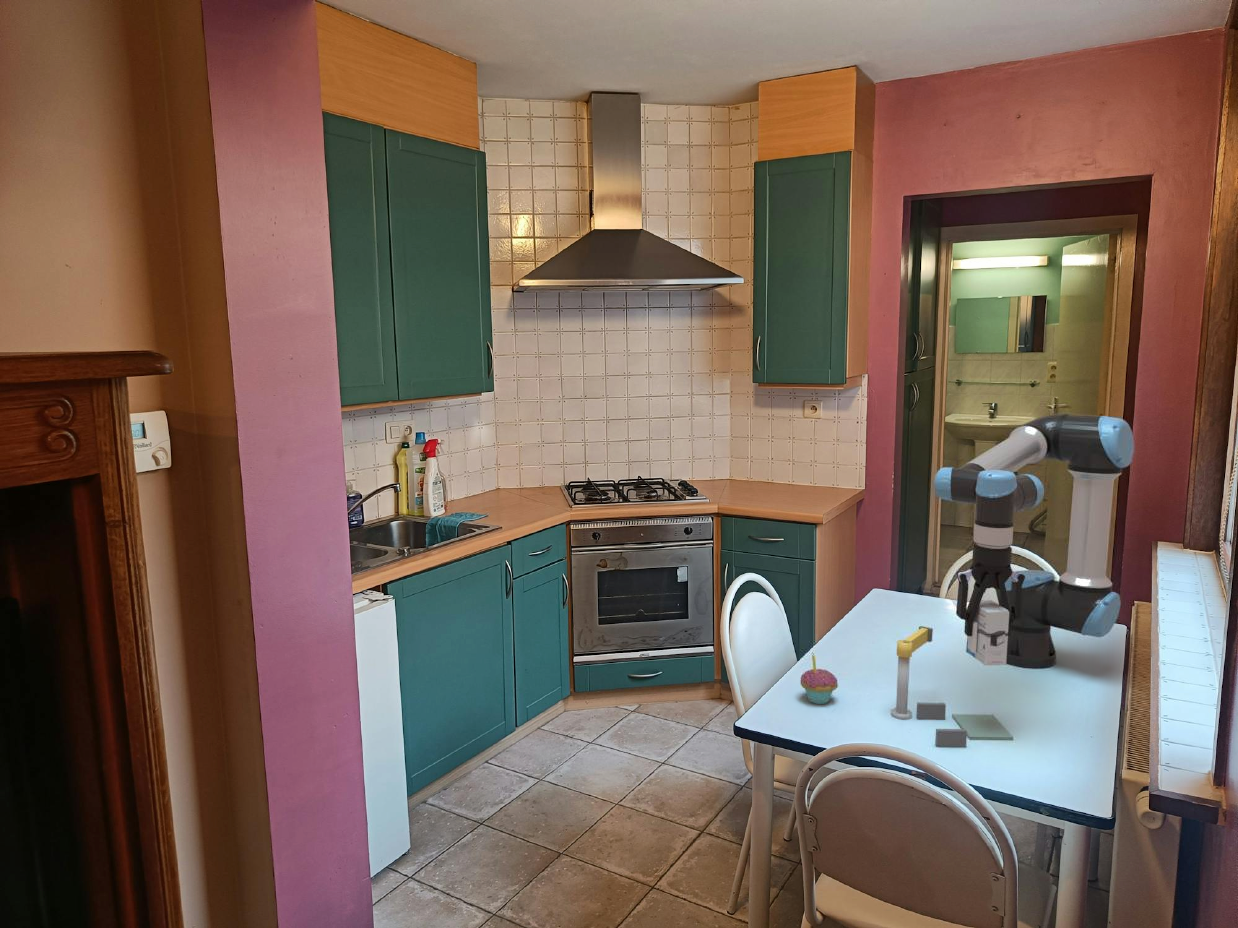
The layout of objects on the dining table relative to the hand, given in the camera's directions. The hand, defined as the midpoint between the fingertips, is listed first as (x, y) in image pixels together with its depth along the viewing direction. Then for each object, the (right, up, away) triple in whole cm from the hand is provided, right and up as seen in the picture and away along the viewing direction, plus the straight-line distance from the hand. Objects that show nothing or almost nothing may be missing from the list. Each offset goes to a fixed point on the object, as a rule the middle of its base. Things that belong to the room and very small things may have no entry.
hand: (986, 650), depth 185 cm
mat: (0, -17, +3) cm, 18 cm away
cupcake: (-32, -16, +18) cm, 40 cm away
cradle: (-12, -18, +3) cm, 21 cm away
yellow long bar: (-11, -2, +11) cm, 16 cm away
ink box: (0, -2, 0) cm, 2 cm away
